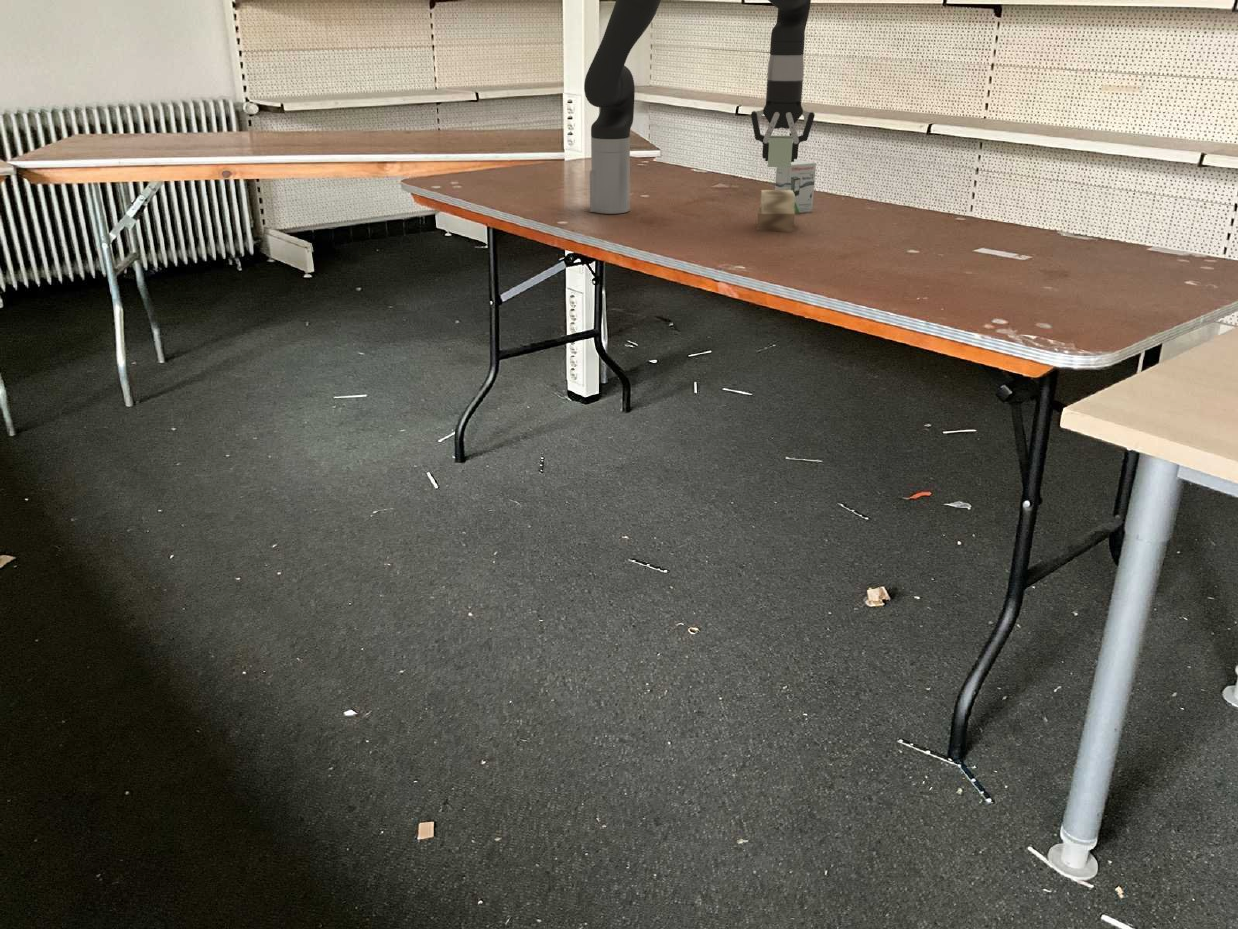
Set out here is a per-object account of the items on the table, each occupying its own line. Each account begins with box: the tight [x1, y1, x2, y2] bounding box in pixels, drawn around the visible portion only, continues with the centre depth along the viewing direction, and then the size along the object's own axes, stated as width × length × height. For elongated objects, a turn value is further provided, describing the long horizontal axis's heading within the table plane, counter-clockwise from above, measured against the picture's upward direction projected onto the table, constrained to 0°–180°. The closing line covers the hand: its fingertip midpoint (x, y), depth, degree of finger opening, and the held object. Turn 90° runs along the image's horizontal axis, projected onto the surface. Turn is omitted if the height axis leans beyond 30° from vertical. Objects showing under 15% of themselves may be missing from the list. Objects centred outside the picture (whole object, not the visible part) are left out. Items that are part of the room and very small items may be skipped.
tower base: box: [756, 207, 796, 233], centre depth 219 cm, size 8×8×4 cm
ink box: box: [774, 159, 817, 214], centre depth 234 cm, size 9×5×12 cm, turn 119°
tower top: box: [759, 189, 795, 214], centre depth 217 cm, size 7×7×4 cm
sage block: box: [767, 135, 793, 168], centre depth 213 cm, size 5×5×6 cm
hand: (779, 160), depth 213 cm, fingers closed on sage block, 5 cm apart
